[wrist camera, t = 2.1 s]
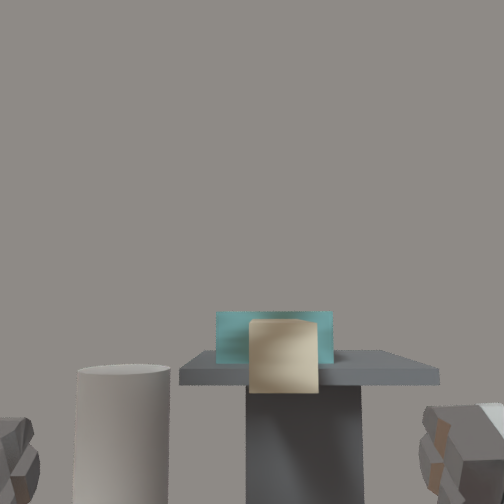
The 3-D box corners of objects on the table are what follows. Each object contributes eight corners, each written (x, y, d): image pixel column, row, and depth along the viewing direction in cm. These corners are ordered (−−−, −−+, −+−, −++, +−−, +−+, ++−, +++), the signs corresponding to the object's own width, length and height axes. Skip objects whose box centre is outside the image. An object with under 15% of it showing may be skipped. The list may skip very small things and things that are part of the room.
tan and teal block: (191, 393, 21) (192, 311, 21) (224, 353, 41) (224, 311, 41) (376, 393, 21) (373, 311, 21) (319, 353, 41) (318, 311, 41)
